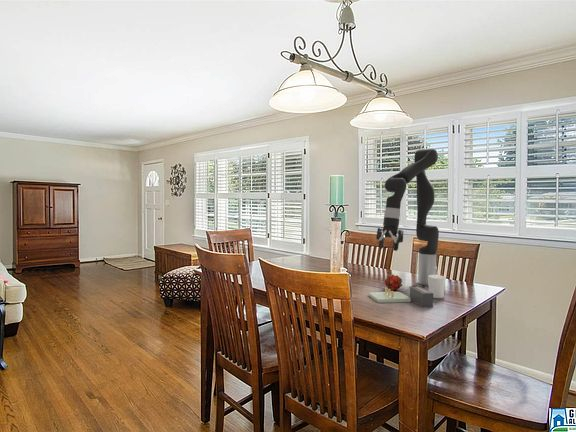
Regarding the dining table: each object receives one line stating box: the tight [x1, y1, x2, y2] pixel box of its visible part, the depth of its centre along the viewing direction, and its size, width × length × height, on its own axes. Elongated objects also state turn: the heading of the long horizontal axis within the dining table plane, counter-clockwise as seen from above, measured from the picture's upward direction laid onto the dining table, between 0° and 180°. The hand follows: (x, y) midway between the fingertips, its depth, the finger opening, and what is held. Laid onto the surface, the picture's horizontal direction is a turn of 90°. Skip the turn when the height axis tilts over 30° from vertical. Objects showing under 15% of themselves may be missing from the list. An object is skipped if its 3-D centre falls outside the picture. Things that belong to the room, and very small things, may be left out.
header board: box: [368, 286, 412, 304], centre depth 174 cm, size 16×12×4 cm
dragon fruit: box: [384, 274, 403, 292], centre depth 190 cm, size 8×8×12 cm
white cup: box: [427, 274, 447, 299], centre depth 178 cm, size 8×8×10 cm
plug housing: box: [409, 286, 434, 308], centre depth 168 cm, size 5×12×6 cm, turn 9°
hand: (387, 249), depth 181 cm, fingers open, 8 cm apart
